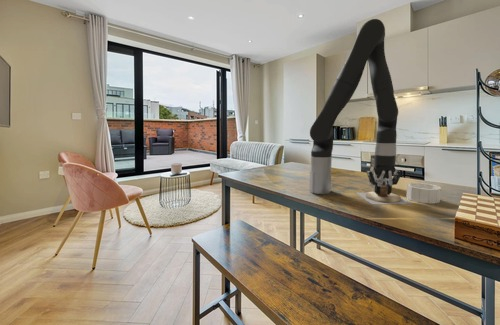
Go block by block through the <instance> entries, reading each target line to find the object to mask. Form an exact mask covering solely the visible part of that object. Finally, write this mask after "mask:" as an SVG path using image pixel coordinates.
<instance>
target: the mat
mask: <svg viewBox="0 0 500 325" xmlns="http://www.w3.org/2000/svg"><path fill="white" fill-rule="evenodd" d="M355 193H356V194H357V195H358V197H361V199H364V200H365V201H366V202H368V203H370V204H371V205H415V204H414V202H413V201H412V202H411V200H410V201H409V199H405V198H404V197H401V201H400V202H396V203H384V202H377V201H373V200H370V199H368V198H366V197H365V195H366V193H367V192H355Z"/></svg>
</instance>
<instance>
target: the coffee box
mask: <svg viewBox="0 0 500 325" xmlns="http://www.w3.org/2000/svg"><path fill="white" fill-rule="evenodd" d="M369 163H370V164H369V171H371V170H373V168H374V167H375V164H374V163H375V154H374V155H370V162H369ZM373 176H374V179H375V177H376V174H375V172H374V175H373ZM368 181H369V183H368V185H369V186H370V187H371V188H372V189H373V190H375V185H373V184H371V183H370V180H369V179H368ZM380 185H383V186H386V185H387V183H386V179H385V178H383V179H382V181H381V184H380Z"/></svg>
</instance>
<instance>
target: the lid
mask: <svg viewBox="0 0 500 325" xmlns="http://www.w3.org/2000/svg"><path fill="white" fill-rule="evenodd" d="M365 193H366V195H365V197H366V198H368V199H370V200H373V201H377V202H384V203H396V202H400V201H401V198H402V197H401V196H400V195H398V194H395V193H394V192H391V193H390V195H388V186H383V185H380V195H377V194H376V193H375V190H373V191H367V192H365Z"/></svg>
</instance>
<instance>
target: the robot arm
mask: <svg viewBox="0 0 500 325" xmlns="http://www.w3.org/2000/svg"><path fill="white" fill-rule="evenodd" d="M385 28H386V27H385V24H384V22H383V21H382V20H381V19H378V18H373V19H369V20H368V21H366V22H365V23H364V24H363V25H362V26H361V27H360V28H359V31H358V34H357V35H356V38H355V41H354V44H353V46H352V48H351V51H350V53H349V55H348V57H347V59H346V61H345V63H344V64H343V65H342V68H341V70H340V71H339V73H338V75H337V77H336V79H335V81H334V83H333V85H332V86H331V88H330V91H329V93H328V95H327V98H326V100H325V102H324V105H323V107H322V109H321V110H320V112H319V114H318V116H317V117H316V119H315V120H314V122H313V123H312V125H311V126H310V129H309V136H310V138H311V140H312V141H313V144H312V148H311V151H310V157H311V158H310V171H309V191H310V192H311V194H316V195H327V194H330V193H331V191H332V190H331V189H332V160H333V159H332V158H333V157H332V156H333V154H332V152H333V149H334V127H333V126H334V124H335V122H336V120H337V119H338V117H339V115H340V114H341V112H342V111H343V109H344V108H345V107H346V106H347V104H349V102H350V100H351V99H352V97H353V96H354V94H355V91H356V90H357V88H358V87H359V84H360V81H361V79H362V75H363V73H364V70H365V67H366V64H367V63H368V67H369V68H368V69H369V77H370V78H369V79H370V84H371V88H372V92H373V97H374V99H375V106H376V113H377V132H376V140H375V148H374V150H375V151H374V155H375V163H374V164H375V167H374V168H373V170H371V171H370V170H366V176H367V178H368V181H369V180H370V183H371V184H373V185H375V189H374V191H375V193H376V194H377V195H380V184H381V181H382V179H383V178H385V179H386V183H387V185H386V186H388V195H390V193H392V187H393V186H395V185H398V183H399V181H400V178H401V176H402V175H403V171H402V170H398V169H396V167H395V166H396V162H397V161H396V159H397V124H398V122H397V121H398V116H399V108H398V103H397V100H396V97H395V90H394V84H393V79H392V77H391V76H392V75H391V73H390V72H391V71H390V70H389V65H388V64H387V58H386V53H385V38H386V29H385ZM374 172H375V174H376V177H375V179H374V176H373V175H374ZM393 174H394V175H393Z"/></svg>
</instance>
